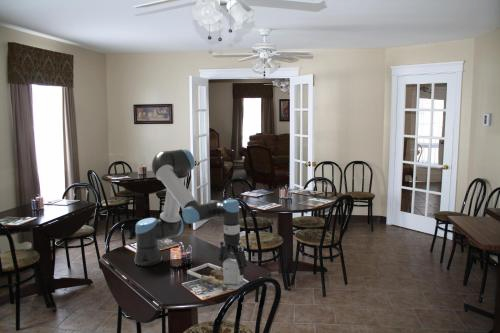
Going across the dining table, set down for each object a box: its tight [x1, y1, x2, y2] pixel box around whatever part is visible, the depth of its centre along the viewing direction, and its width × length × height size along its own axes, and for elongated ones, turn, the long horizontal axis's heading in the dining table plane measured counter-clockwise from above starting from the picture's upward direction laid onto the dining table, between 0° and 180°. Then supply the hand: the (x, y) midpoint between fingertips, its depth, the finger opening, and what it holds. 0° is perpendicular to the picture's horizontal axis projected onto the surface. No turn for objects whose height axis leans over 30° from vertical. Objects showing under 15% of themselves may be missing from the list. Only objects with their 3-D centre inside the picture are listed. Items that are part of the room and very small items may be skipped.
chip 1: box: [210, 268, 222, 277], centre depth 215 cm, size 4×4×2 cm
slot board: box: [201, 267, 224, 286], centre depth 211 cm, size 12×14×3 cm
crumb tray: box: [186, 262, 222, 280], centre depth 219 cm, size 11×14×3 cm
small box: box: [223, 258, 243, 286], centre depth 204 cm, size 8×6×10 cm
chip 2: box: [215, 271, 224, 280], centre depth 211 cm, size 4×4×2 cm
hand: (233, 278), depth 205 cm, fingers closed on small box, 9 cm apart
